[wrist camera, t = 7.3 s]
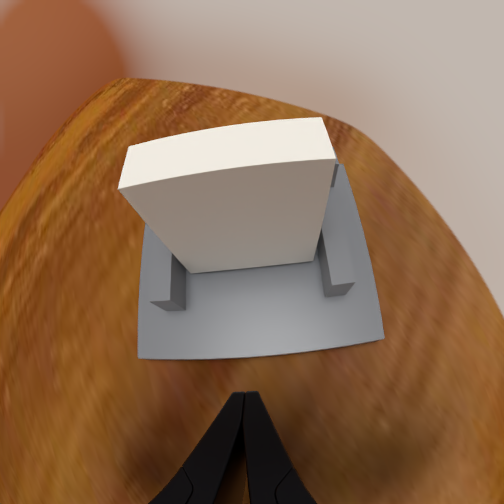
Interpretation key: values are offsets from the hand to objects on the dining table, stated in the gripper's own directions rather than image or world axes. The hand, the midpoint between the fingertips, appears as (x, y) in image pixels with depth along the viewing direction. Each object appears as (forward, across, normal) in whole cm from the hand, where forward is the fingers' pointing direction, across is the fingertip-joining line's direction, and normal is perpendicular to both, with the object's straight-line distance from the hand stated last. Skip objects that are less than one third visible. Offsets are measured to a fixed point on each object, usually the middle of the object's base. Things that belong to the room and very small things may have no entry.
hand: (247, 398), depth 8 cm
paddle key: (+9, 0, -2) cm, 9 cm away
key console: (+10, 0, -1) cm, 10 cm away
